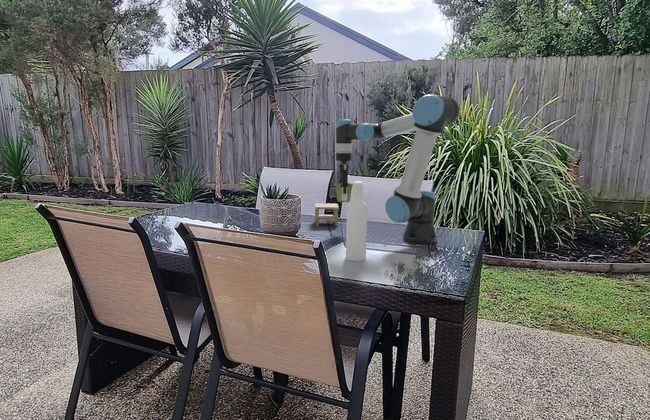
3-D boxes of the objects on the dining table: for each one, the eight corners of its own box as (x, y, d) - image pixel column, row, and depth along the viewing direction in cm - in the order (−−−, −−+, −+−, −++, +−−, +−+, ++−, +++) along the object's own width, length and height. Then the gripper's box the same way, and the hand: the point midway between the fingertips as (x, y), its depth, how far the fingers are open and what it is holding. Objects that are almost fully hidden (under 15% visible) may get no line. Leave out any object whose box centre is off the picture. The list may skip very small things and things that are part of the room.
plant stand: (338, 226, 224) (338, 207, 222) (315, 226, 223) (315, 207, 222) (336, 221, 236) (336, 203, 234) (314, 221, 235) (314, 203, 233)
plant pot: (356, 201, 213) (356, 183, 212) (347, 203, 205) (348, 185, 204) (339, 199, 218) (339, 182, 216) (330, 202, 210) (330, 184, 208)
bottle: (346, 255, 172) (348, 180, 167) (366, 256, 172) (368, 181, 166) (344, 261, 165) (346, 183, 159) (365, 262, 164) (368, 183, 158)
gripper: (334, 151, 218) (334, 196, 221) (337, 153, 196) (337, 202, 200) (349, 151, 218) (348, 195, 222) (354, 153, 197) (353, 202, 201)
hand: (343, 199), depth 211 cm, fingers closed on plant pot, 9 cm apart
